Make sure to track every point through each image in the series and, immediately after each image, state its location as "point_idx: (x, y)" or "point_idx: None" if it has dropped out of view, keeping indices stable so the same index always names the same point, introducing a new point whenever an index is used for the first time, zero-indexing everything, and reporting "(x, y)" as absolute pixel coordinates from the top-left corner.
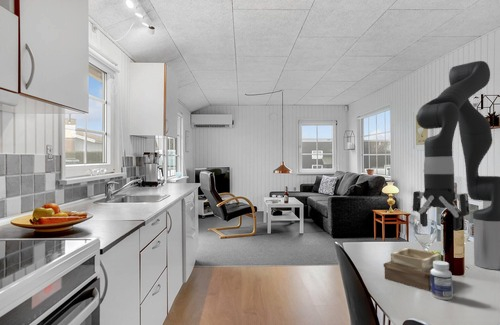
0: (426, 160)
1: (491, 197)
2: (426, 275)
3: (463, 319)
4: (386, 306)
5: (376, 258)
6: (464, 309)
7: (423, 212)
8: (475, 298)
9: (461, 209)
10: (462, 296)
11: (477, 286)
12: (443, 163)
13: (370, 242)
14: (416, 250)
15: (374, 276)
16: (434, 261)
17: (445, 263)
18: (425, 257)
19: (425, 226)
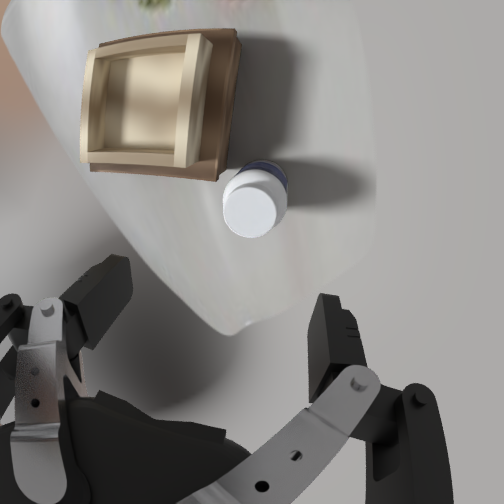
0: None
1: None
2: (210, 179)
3: (323, 282)
4: (195, 306)
5: (55, 41)
6: (320, 233)
7: (80, 356)
8: (333, 143)
9: (370, 466)
10: (304, 149)
11: (321, 45)
12: None
13: None
14: (119, 52)
15: None
16: (226, 210)
17: (266, 213)
18: (158, 52)
19: (131, 281)
